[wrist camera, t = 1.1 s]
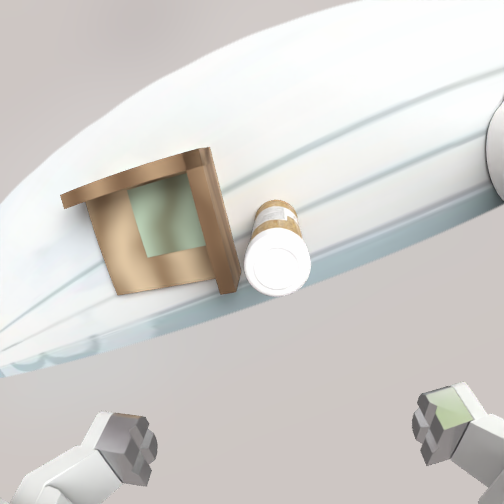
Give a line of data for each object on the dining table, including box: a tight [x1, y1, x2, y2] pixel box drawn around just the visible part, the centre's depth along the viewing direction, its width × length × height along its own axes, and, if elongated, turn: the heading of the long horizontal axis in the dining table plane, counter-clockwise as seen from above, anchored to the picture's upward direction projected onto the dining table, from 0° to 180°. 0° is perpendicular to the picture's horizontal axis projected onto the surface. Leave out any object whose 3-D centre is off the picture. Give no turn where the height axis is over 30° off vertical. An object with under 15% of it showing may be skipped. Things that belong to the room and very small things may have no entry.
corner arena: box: [60, 147, 241, 295], centre depth 32 cm, size 16×14×5 cm
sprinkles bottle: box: [244, 200, 311, 297], centre depth 27 cm, size 5×5×13 cm
